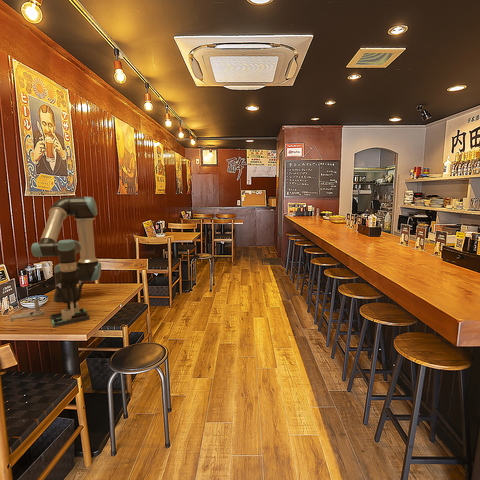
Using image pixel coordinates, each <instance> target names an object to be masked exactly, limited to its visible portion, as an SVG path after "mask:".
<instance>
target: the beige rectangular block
mask: <svg viewBox="0 0 480 480" xmlns="http://www.w3.org/2000/svg"><path fill="white" fill-rule="evenodd" d="M79 309H80V304H79V302H78V301H77V302H76V308H74V313H77V312H79Z"/></svg>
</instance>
